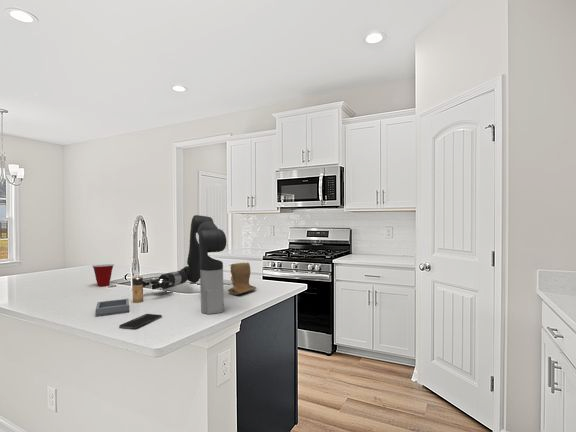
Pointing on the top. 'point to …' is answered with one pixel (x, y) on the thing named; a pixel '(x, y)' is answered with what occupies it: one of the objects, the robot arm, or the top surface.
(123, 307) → the tray
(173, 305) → the top surface
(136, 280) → the battery cell
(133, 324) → the phone
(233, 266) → the brown boot
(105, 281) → the plastic cup
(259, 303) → the top surface
